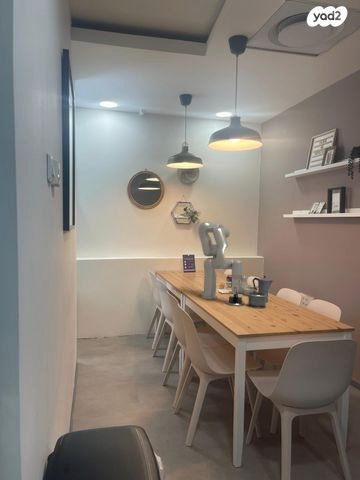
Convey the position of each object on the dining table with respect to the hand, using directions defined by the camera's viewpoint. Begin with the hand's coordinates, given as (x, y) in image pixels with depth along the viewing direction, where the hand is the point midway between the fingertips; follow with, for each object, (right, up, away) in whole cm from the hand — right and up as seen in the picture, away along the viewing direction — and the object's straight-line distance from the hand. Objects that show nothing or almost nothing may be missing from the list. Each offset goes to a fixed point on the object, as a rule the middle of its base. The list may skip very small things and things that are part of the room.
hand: (235, 301), depth 253 cm
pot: (+15, -3, -4) cm, 16 cm away
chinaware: (+17, -1, +42) cm, 46 cm away
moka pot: (+22, -2, +13) cm, 26 cm away
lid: (0, -2, 0) cm, 2 cm away
